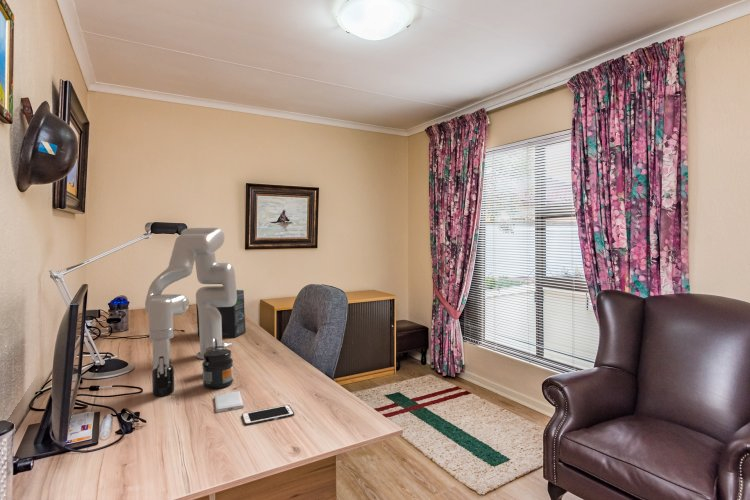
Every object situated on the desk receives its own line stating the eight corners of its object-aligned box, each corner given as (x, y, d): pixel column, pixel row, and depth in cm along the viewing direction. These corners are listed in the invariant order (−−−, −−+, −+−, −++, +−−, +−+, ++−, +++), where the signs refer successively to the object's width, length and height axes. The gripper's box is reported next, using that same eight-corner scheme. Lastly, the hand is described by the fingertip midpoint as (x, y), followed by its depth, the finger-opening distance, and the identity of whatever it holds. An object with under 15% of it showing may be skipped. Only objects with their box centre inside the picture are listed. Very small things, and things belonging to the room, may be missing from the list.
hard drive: (214, 394, 138) (216, 409, 127) (239, 390, 142) (243, 404, 130) (214, 399, 139) (216, 414, 127) (240, 395, 142) (243, 409, 130)
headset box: (196, 337, 221) (195, 289, 220) (209, 331, 233) (207, 286, 232) (235, 338, 218) (234, 289, 216) (246, 332, 229) (244, 286, 228)
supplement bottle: (165, 397, 139) (164, 362, 139) (148, 396, 141) (146, 361, 140) (179, 390, 146) (177, 356, 146) (162, 388, 147) (160, 355, 147)
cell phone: (241, 416, 125) (241, 413, 125) (289, 407, 131) (289, 404, 131) (244, 427, 118) (244, 423, 118) (295, 416, 124) (295, 413, 124)
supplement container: (239, 381, 154) (238, 350, 153) (218, 391, 144) (217, 358, 143) (218, 377, 158) (217, 347, 157) (196, 387, 148) (195, 354, 148)
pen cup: (219, 369, 168) (217, 335, 167) (228, 372, 164) (227, 337, 163) (202, 373, 163) (201, 338, 162) (212, 377, 158) (211, 341, 158)
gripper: (151, 329, 149) (153, 378, 150) (147, 341, 133) (149, 395, 134) (174, 327, 152) (175, 374, 153) (172, 338, 136) (174, 391, 137)
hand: (163, 383), depth 143 cm, fingers closed on supplement bottle, 6 cm apart
